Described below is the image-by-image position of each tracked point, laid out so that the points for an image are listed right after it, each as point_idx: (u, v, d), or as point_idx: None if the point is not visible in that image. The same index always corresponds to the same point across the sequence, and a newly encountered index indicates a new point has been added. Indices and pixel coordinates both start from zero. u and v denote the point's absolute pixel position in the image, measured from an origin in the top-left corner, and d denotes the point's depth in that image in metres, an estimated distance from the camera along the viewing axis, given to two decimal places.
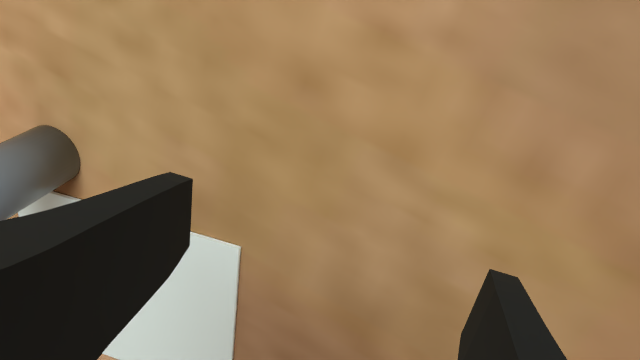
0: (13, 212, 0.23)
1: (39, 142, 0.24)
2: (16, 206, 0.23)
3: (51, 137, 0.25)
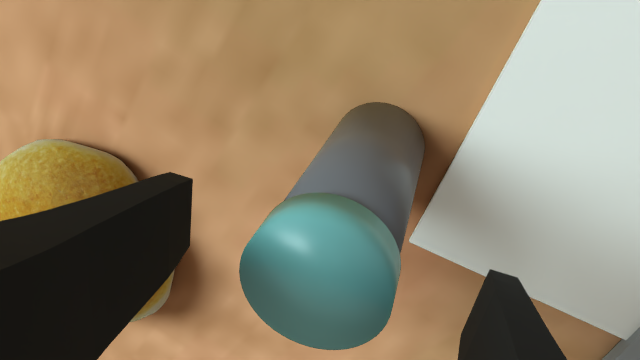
0: (397, 177, 0.13)
1: (336, 128, 0.16)
2: (389, 166, 0.13)
3: (343, 119, 0.16)
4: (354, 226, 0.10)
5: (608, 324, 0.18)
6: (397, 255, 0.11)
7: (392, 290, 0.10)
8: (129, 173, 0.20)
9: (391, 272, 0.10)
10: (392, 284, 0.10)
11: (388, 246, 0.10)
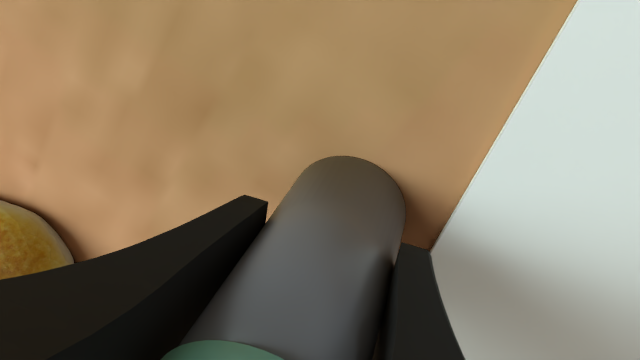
0: (360, 285, 0.09)
1: (287, 193, 0.12)
2: (348, 269, 0.09)
3: (299, 179, 0.13)
4: None
5: None
6: None
7: None
8: (47, 233, 0.17)
9: None
10: None
11: None
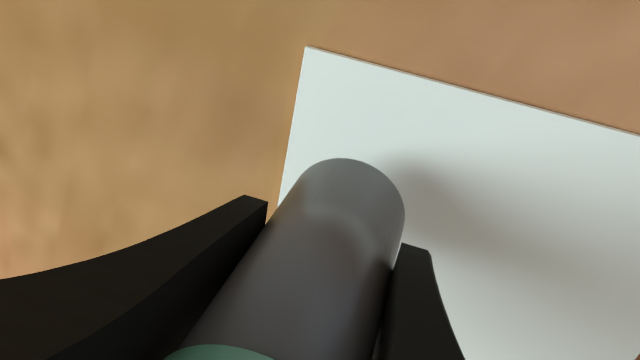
0: (361, 290, 0.09)
1: (288, 194, 0.12)
2: (349, 274, 0.09)
3: (299, 180, 0.13)
4: None
5: None
6: None
7: None
8: None
9: None
10: None
11: None
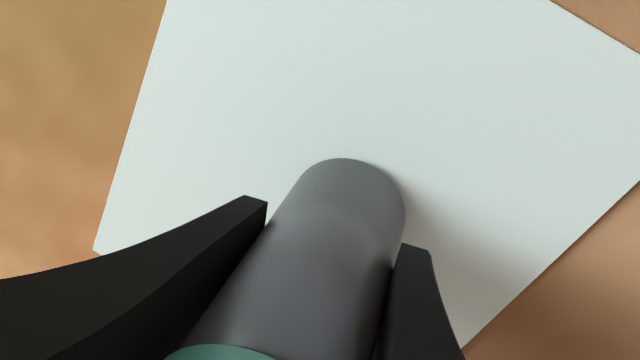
0: (361, 290, 0.09)
1: (289, 195, 0.12)
2: (350, 274, 0.09)
3: (300, 180, 0.13)
4: None
5: None
6: None
7: None
8: None
9: None
10: None
11: None
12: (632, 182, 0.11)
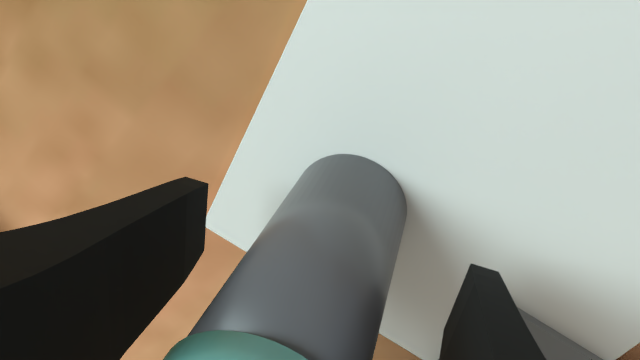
0: (364, 281, 0.09)
1: (293, 190, 0.12)
2: (353, 265, 0.09)
3: (303, 175, 0.13)
4: None
5: (414, 345, 0.15)
6: None
7: None
8: None
9: None
10: None
11: None
12: None
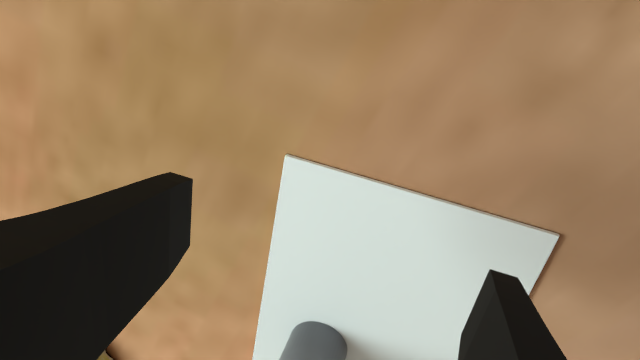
0: None
1: (284, 348, 0.25)
2: None
3: (289, 338, 0.26)
4: None
5: None
6: None
7: None
8: None
9: None
10: None
11: None
12: (535, 278, 0.21)
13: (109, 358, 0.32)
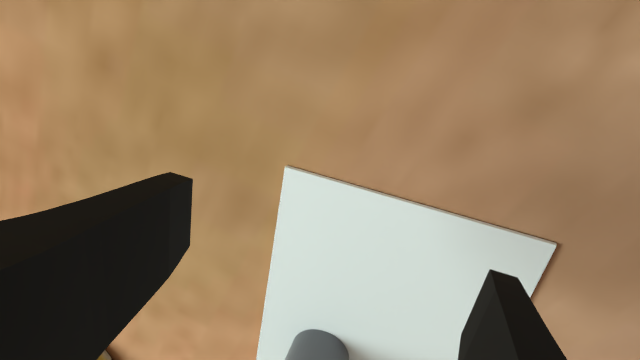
0: None
1: (286, 356, 0.26)
2: None
3: (291, 346, 0.26)
4: None
5: None
6: None
7: None
8: None
9: None
10: None
11: None
12: (533, 286, 0.21)
13: None
